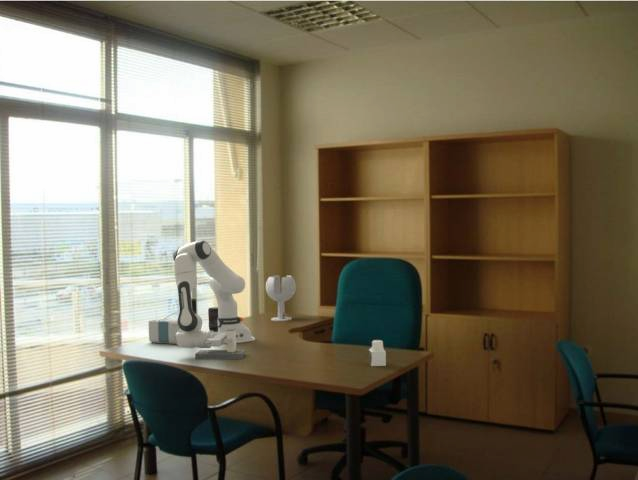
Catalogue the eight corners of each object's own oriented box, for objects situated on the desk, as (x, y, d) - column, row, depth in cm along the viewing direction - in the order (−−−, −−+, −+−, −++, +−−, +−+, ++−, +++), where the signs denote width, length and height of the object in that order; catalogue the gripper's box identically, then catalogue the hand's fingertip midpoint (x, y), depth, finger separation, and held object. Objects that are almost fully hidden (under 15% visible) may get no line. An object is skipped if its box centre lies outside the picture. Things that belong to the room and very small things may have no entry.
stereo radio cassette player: (148, 343, 394) (147, 308, 393) (156, 340, 401) (155, 306, 400) (179, 345, 386) (178, 310, 385) (187, 342, 394) (186, 308, 393)
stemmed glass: (263, 321, 462) (262, 277, 461) (270, 317, 482) (269, 274, 481) (292, 322, 459) (291, 277, 457) (298, 317, 479) (297, 274, 477)
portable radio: (193, 338, 407) (192, 296, 405) (184, 338, 408) (183, 296, 407) (198, 335, 414) (197, 294, 413) (189, 335, 415) (188, 294, 414)
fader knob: (227, 352, 351) (226, 329, 350) (229, 350, 356) (228, 328, 355) (234, 352, 350) (234, 329, 350) (236, 350, 355) (235, 328, 355)
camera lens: (223, 330, 430) (223, 307, 430) (217, 332, 423) (217, 308, 422) (212, 330, 433) (211, 306, 432) (206, 332, 425) (205, 308, 425)
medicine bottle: (368, 363, 333) (368, 338, 333) (383, 362, 334) (383, 338, 333) (371, 366, 326) (370, 341, 326) (386, 365, 327) (385, 341, 326)
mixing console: (195, 359, 349) (195, 354, 349) (200, 354, 360) (200, 349, 360) (241, 359, 347) (241, 353, 347) (245, 354, 358) (245, 349, 358)
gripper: (202, 337, 343) (229, 337, 342) (211, 330, 363) (236, 329, 363) (202, 349, 343) (229, 349, 342) (211, 341, 364) (237, 341, 363)
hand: (233, 339), depth 353 cm, fingers closed on fader knob, 5 cm apart
